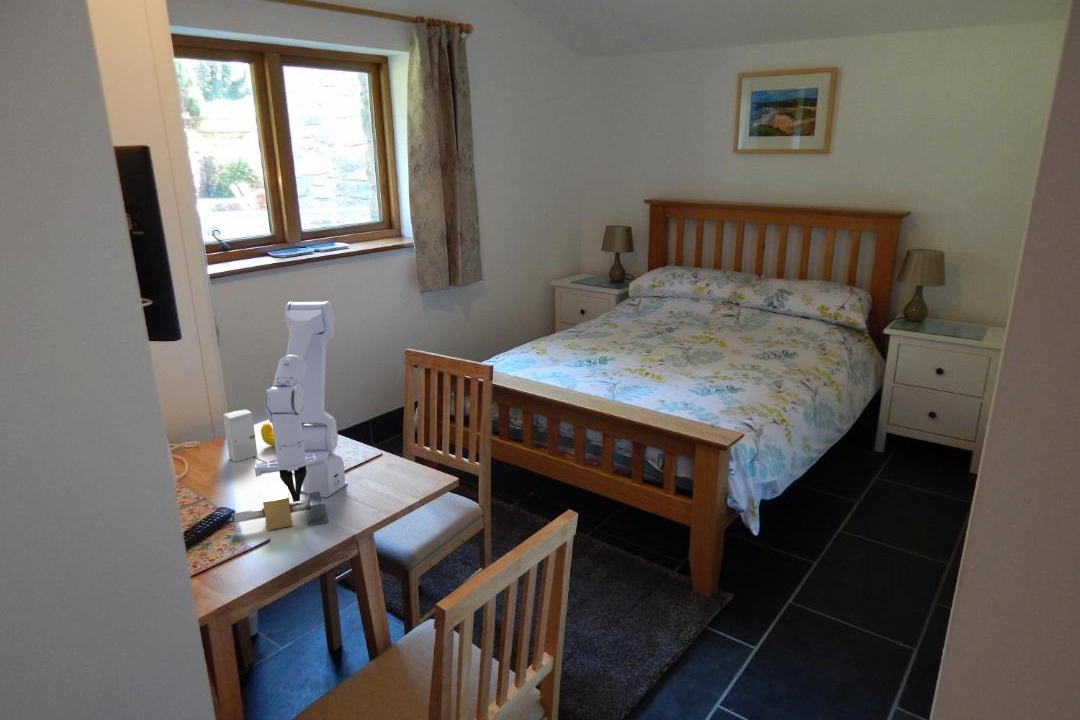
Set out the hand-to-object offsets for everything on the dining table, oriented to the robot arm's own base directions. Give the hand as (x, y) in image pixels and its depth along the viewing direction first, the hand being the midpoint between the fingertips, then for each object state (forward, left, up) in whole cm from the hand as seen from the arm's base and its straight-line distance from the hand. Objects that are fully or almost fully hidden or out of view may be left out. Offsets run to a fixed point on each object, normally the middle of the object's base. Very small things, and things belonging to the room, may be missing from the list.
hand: (296, 499), depth 153 cm
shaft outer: (+6, +6, -3) cm, 9 cm away
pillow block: (-3, -3, -5) cm, 6 cm away
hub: (+3, +3, -5) cm, 6 cm away
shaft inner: (0, 0, -3) cm, 3 cm away
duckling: (+31, -29, -5) cm, 43 cm away
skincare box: (+36, -20, -5) cm, 42 cm away
